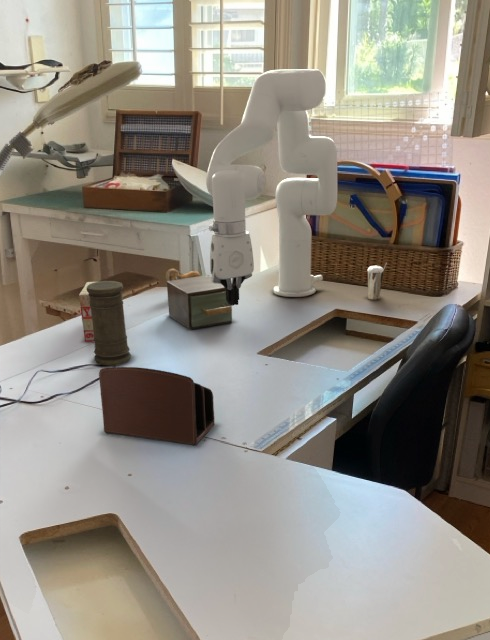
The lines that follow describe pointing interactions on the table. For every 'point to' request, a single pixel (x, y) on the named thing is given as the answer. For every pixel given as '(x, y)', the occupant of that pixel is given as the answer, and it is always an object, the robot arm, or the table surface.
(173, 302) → the cabinet
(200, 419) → the letter holder
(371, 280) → the milkshake
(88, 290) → the container
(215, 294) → the drawer
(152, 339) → the table surface
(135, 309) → the table surface
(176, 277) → the lion figurine
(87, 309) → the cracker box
